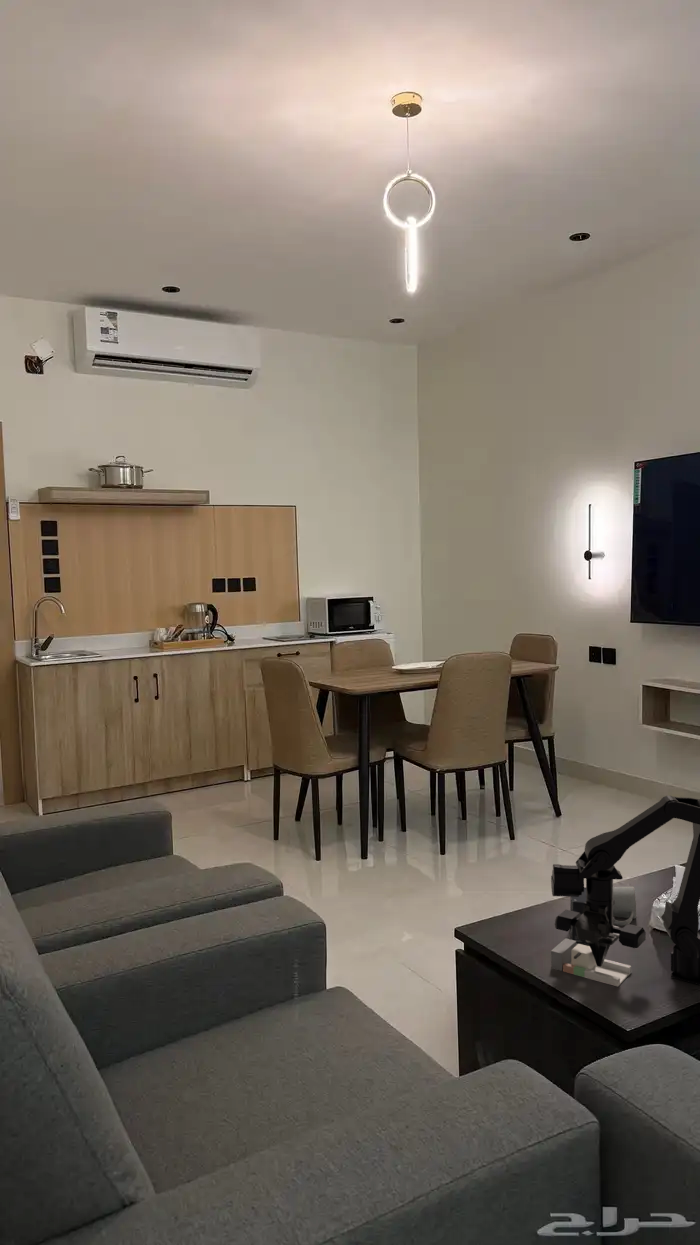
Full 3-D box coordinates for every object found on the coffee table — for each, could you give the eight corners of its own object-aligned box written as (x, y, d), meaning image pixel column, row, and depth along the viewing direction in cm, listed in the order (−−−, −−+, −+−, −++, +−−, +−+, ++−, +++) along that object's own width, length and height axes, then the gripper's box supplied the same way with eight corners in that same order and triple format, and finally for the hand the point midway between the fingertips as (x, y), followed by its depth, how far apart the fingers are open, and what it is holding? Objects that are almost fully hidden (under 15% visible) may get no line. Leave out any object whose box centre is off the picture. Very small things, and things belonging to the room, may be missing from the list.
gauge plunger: (595, 965, 196) (595, 947, 196) (583, 976, 190) (583, 959, 190) (578, 960, 198) (578, 943, 198) (566, 972, 193) (566, 954, 193)
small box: (599, 946, 207) (599, 903, 206) (571, 944, 208) (571, 901, 207) (596, 928, 217) (596, 886, 216) (569, 926, 218) (569, 885, 218)
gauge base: (631, 972, 193) (631, 954, 193) (618, 986, 187) (618, 968, 186) (565, 955, 202) (565, 938, 202) (551, 968, 196) (551, 950, 196)
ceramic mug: (601, 909, 229) (601, 880, 228) (634, 911, 227) (634, 882, 226) (604, 926, 218) (604, 896, 218) (638, 928, 217) (638, 898, 216)
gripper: (544, 899, 191) (544, 968, 192) (628, 918, 180) (628, 992, 181) (565, 884, 200) (565, 950, 201) (646, 901, 189) (646, 971, 190)
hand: (599, 965), depth 193 cm, fingers closed
